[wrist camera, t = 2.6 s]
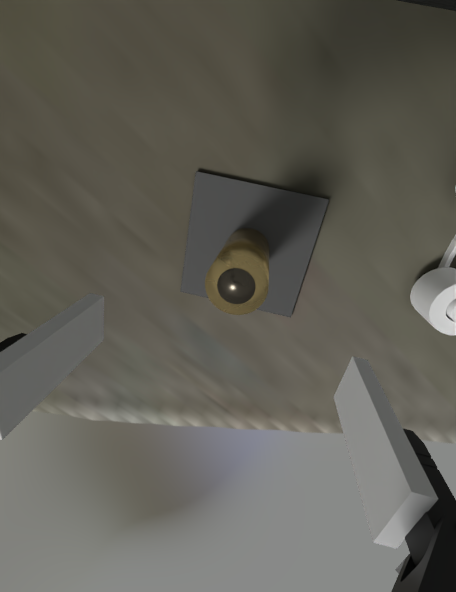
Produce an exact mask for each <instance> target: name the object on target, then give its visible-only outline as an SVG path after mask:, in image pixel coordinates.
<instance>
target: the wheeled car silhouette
mask: <svg viewBox="0 0 456 592" xmlns="http://www.w3.org/2000/svg"><path fill="white" fill-rule="evenodd" d="M455 191H456V187H455ZM455 255H456V235H455V236H454V238H453V240H452V241H451V243H450V245H449V246H448V248H447V250H446V252H445V254H444V256H443V258H442V260H441V262H440V264H439V266H438V269H434V270H431V271H429V272H428V273H426V274H424V275H423V276H422V277H420V278H419V279H418V280H417V281H416V283H415V284H414V286H413V288H412V291H411V295H410V298H411V303H412V305H413V307H414V308H415V309H416V310H417V311H418V312H419V313H420V314H421V315H422V316H423V317H424V318H425V319H426V320H427V321H428V322H429V323H430V324H431V325H432V326H433V327H434V328H435V329H437V330H438V331H440V332H441V333H444V334H448V335H456V269H455V268H451V267H449V266H450V264H451V262H452V260H453V258H454V256H455Z"/></svg>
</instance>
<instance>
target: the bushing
mask: <svg viewBox="0 0 456 592" xmlns="http://www.w3.org/2000/svg"><path fill="white" fill-rule="evenodd" d="M268 287H269V244H268V241H267V239H266V238H265V236H264V235H263V234H262V233H261V232H259V231H257V230H255V229H252V228H243V229H239V230H237V231H235V232H234V233H233V234H232V235H231V236H230V237H229V238H228V240H227V242H226V243H225V245H224V246H223V248H222V249H221V251H220V253H219V254H218V256H217V257H216V259H215V261H214V262H213V264H212V265H211V267H210V269H209V270H208V272H207V275H206V278H205V289H206V293H207V295H208V298H209V299H210V301H211V302H212V303H213V304H214V305H215V306H216V307H217V308H218V309H220V310H222V311H224V312H226V313H229V314H234V315H242V314H247V313H250V312H252V311H254V310H256V309H257V308H259V307H260V306H261V305H262V303H263V302H264V301H265V299H266V297H267V294H268Z"/></svg>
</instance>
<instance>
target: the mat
mask: <svg viewBox="0 0 456 592" xmlns="http://www.w3.org/2000/svg"><path fill="white" fill-rule="evenodd" d="M328 202H329V199H325V198H320V197H315V196H311V195H306V194H301V193H297V192H292V191H287V190H283V189H278V188H273V187H268V186H264V185H259V184H254V183H250V182H245V181H240V180H235V179H231V178H226V177H221V176H217V175H212V174H207V173H203V172H198V171H196V175H195V183H194V190H193V198H192V206H191V214H190V222H189V229H188V237H187V245H186V253H185V260H184V268H183V276H182V284H181V292H185V293H189V294H193V295H197V296H202V297H206V298H208V295H207V293H206V289H205V278H206V275H207V272H208V270H209V269H210V267H211V265H212V264H213V262H214V261H215V259H216V257H217V256H218V254H219V253H220V251H221V249H222V248H223V246H224V245H225V243H226V242H227V240H228V238H229V237H230V236H231V235H232V234H233V233H234V232H235V231H237V230H239V229H243V228H252V229H255V230H257V231H259V232H261V233H262V234H263V235H264V236H265V238H266V239H267V241H268V244H269V287H268V294H267V297H266V299H265V301H264V302H263V303H262V305H261V306H260V307H259V308H257V310H261V311H266V312H270V313H274V314H278V315H283V316H287V317H291V315H292V312H293V309H294V306H295V302H296V299H297V296H298V293H299V290H300V287H301V284H302V281H303V278H304V275H305V272H306V269H307V266H308V263H309V260H310V257H311V254H312V250H313V247H314V244H315V241H316V238H317V235H318V232H319V229H320V226H321V223H322V220H323V217H324V214H325V211H326V208H327V205H328Z"/></svg>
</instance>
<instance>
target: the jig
mask: <svg viewBox="0 0 456 592" xmlns="http://www.w3.org/2000/svg"><path fill="white" fill-rule="evenodd" d="M398 1H404V2H409V3H415V4H421V5H426V6H432V7H438V8H443V9H449V10H455V11H456V0H398Z"/></svg>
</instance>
